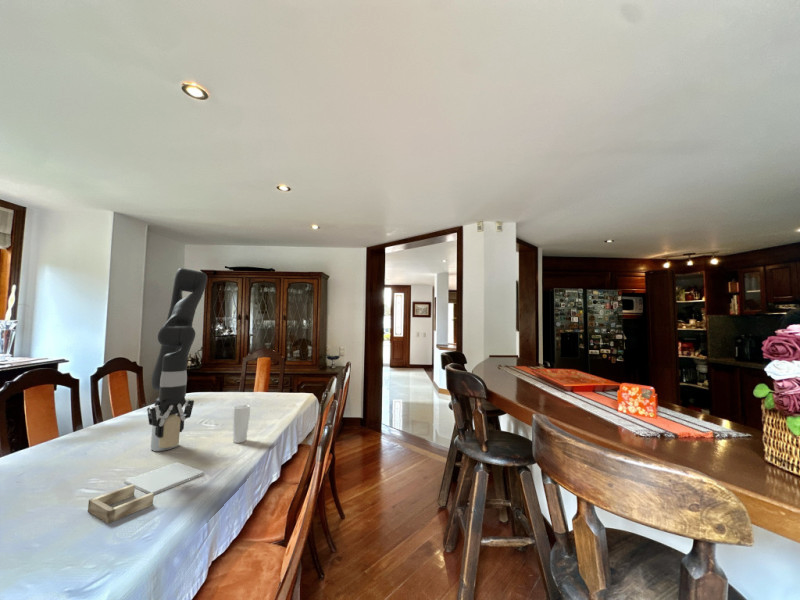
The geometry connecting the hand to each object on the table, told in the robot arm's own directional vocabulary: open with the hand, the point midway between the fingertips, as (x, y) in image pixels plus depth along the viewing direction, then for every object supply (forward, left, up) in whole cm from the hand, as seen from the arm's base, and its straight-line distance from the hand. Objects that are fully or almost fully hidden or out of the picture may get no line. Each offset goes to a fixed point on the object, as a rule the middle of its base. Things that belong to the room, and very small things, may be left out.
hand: (169, 434), depth 109 cm
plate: (0, 0, -14) cm, 14 cm away
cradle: (+8, -15, -14) cm, 22 cm away
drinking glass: (-9, +35, -14) cm, 39 cm away
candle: (0, 0, -4) cm, 4 cm away
